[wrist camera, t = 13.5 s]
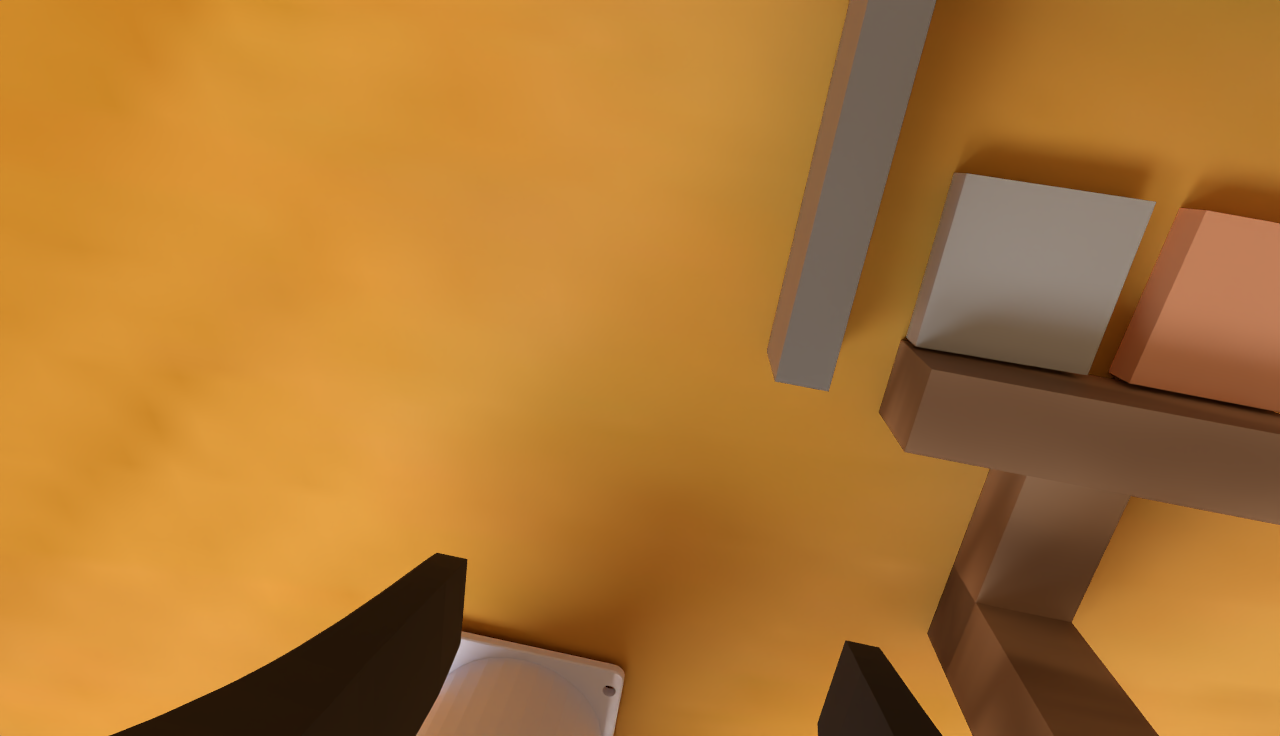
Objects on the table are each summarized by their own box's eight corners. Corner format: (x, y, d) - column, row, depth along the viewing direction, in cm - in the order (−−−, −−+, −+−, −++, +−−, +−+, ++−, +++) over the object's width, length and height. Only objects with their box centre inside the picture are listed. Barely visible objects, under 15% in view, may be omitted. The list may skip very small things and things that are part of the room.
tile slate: (1061, 360, 20) (1087, 375, 19) (901, 333, 20) (915, 346, 19) (1122, 198, 19) (1155, 201, 17) (948, 172, 19) (966, 173, 17)
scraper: (1124, 675, 23) (1366, 980, 14) (817, 610, 23) (875, 867, 15) (1263, 407, 19) (1690, 597, 11) (901, 339, 20) (1037, 471, 12)
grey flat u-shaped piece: (1381, 465, 20) (1494, 517, 17) (766, 350, 21) (775, 381, 18) (1712, -84, 15) (1948, -142, 12) (895, -195, 16) (934, -271, 13)
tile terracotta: (1263, 399, 20) (1305, 417, 18) (1099, 367, 20) (1129, 383, 19) (1347, 238, 18) (1400, 245, 17) (1168, 206, 18) (1206, 210, 17)
